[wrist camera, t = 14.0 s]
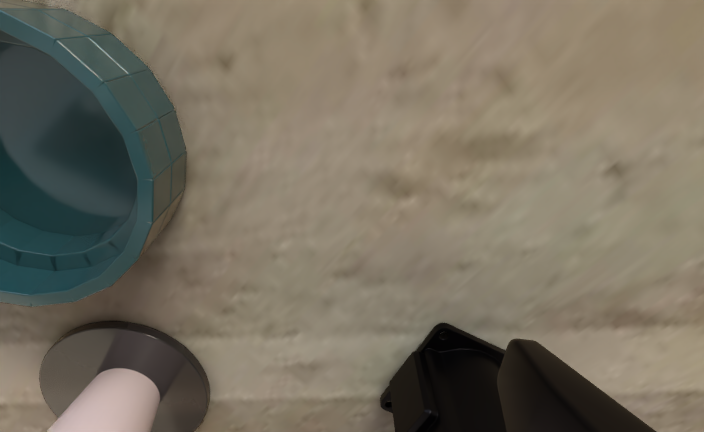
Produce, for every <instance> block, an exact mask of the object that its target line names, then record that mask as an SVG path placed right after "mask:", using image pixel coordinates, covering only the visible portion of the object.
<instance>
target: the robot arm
mask: <svg viewBox="0 0 704 432" xmlns="http://www.w3.org/2000/svg"><path fill="white" fill-rule="evenodd" d="M442 332H447V333H445V334H443V335H442V334H440V333H442ZM387 401H391V402H387ZM380 402H381V407H382V408H383V409H384V410H386V411H389V412H391V413H393V418H394V427H395V432H656V431H655V430H653V429H652V428H651V427H649V426H648V425H647V424H645V423H644V422H643V421H641V420H640V419H639V418H637V417H636V416H635V415H633V414H632V413H631V412H629V411H628V410H627V409H625V408H624V407H623V406H621V405H620V404H619V403H617V402H616V401H615V400H613V399H612V398H611V397H609V396H608V395H607V394H605V393H604V392H603V391H601V390H600V389H599V388H597V387H596V386H595V385H594V384H592V383H591V382H590V381H588V380H587V379H586V378H584V377H583V376H582V375H580V374H579V373H578V372H576V371H575V370H574V369H572V368H571V367H570V366H568V365H567V364H566V363H564V362H563V361H562V360H560V359H559V358H558V357H556V356H555V355H554V354H552V353H551V352H550V351H548V350H547V349H546V348H544V347H543V346H542V345H540V344H539V343H538V342H536V341H533V340H524V339H513V340H511V341H510V342H509V344H508V346H507V349H506V351H505V350H503V349H501V348H499V347H496V346H494V345H492V344H490V343H488V342H486V341H484V340H481V339H479V338H477V337H475V336H473V335H471V334H469V333H467V332H464V331H462V330H460V329H458V328H456V327H454V326H452V325H449V324H447V323H440V324H438V325H436V326H435V327H434V329H433V330H432V331H431V332H430V334H429V335H428V336H427V338H426V339H425V340H424V341H423V343H422V344H421V345H420V347H419V348H418V349H417V350H416V351H415V352H413V353H412V354H411V355H410V356H409V358H408V359H407V360H406V361H405V363H404V364H403V365H402V367H401V368H400V369H399V370H398V372H397V373H396V374H395V376H394V377H393V378H392V380H391V381H390V383H389V386H388V388H387V389H386V390H385V392H384V393H383V394H382V395H381V397H380Z"/></svg>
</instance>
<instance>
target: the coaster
mask: <svg viewBox="0 0 704 432" xmlns="http://www.w3.org/2000/svg"><path fill="white" fill-rule="evenodd" d="M114 368H124V369H130V370H134V371H136V372H139V373H141V374H143V375H145V376H146V377H148V378H149V379H150V380H151V381H152V382H153V383H154V384H155V385H156V387H157V388H158V391H159V394H160V402H159V405H158V409H157V412H156V415H155V418H154V421H153V425H152V428H151V431H150V432H193V431H194V430H195V429H196V428H197V427H198V426H199V425H200V423H201V422H202V420H203V418H204V416H205V414H206V411H207V408H208V404H209V400H210V388H209V382H208V379H207V376H206V374H205V371H204V369H203V367H202V366H201V364H200V363H199V361H198V360H197V359H196V358H195V356H194V355H193V354H192V353H191V352H190V351H189V350H188V349H187V348H186V347H185V346H183V345H182V344H180V343H179V342H178V341H176V340H175V339H173V338H171V337H170V336H168V335H166V334H164V333H162V332H160V331H158V330H155V329H153V328H150V327H147V326H143V325H139V324H135V323H129V322H121V321H105V322H96V323H91V324H87V325H84V326H81V327H78V328H76V329H74V330H72V331H70V332H68V333H67V334H65V335H64V336H62V337H61V338H60V339H59V340H58V341H57V342H56V343H55V344H54V345H53V346H52V347H51V348H50V350H49V351H48V352H47V354H46V355H45V357H44V359H43V361H42V364H41V368H40V376H39V381H40V388H41V391H42V394H43V396H44V399H45V401H46V403H47V404H48V406H49V407H50V409H51V410H52V411H53V413H54V414H55V415H56V416H57V417H58V418H59V417H60V416H61V415H62V414H63V413H64V411H65V410H66V409H67V408H68V407H69V406H70V405H71V404H72V403H73V401H74V400H75V399H76V398H77V397H78V396H79V395H80V394H81V393H82V391H83V390H84V389H85V388H86V387H87V386H88V385H89V384H90V383H91V382H92V380H93V379H94V378H95V377H96V376H97V375H98V374H100V373H101V372H103V371H106V370H109V369H114Z"/></svg>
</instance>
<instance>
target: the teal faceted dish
mask: <svg viewBox="0 0 704 432" xmlns="http://www.w3.org/2000/svg"><path fill="white" fill-rule="evenodd" d="M185 150H186V147H185V144H184V140H183V137H182V133H181V130H180V126H179V123H178V119H177V116H176V112H175V110H174V107H173V105H172V104H171V102H170V101H169V99H168V97H167V96H166V94H165V93H164V91H163V89H162V88H161V86H160V85H159V83H158V81H157V80H156V78H155V77H154V75H153V73H152V72H151V70H150V69H149V68H148V67H147V66H146V65H145V64H144V63H143V62H142V61H141V60H140V59H139V58H138V57H136V56H135V55H134V54H133V53H132V52H131V51H130V50H129V49H128V48H127V47H126V46H125V45H124V44H123V43H121V42H120V41H119V40H118V39H117V38H116V37H115V36H114V35H112V34H111V33H110V32H108V31H106V30H104V29H102V28H100V27H98V26H96V25H95V24H93V23H91V22H89V21H87V20H85V19H83V18H81V17H79V16H78V15H76V14H74V13H72V12H70V11H68V10H65V9H63V8H58V7H53V6H48V5H43V4H38V3H33V2H28V1H24V0H0V302H1V303H8V304H15V305H22V306H29V307H32V306H33V307H37V306H46V305H55V304H64V303H73V302H77V301H79V300H81V299H84V298H86V297H88V296H90V295H93V294H95V293H97V292H99V291H102V290H104V289H106V288H108V287H110V286H112V285H113V284H114V283H115V282H116V281H117V280H118V279H119V278H120V277H121V276H122V275H123V274H124V273H125V272H126V271H127V270H128V269H129V268H130V267H131V266H132V265H133V264H134V263H135V262H136V261H137V260H138V259H139V258H140V257H141V256H142V254H143V253H144V252H145V251H146V250H147V248H148V247H149V246H150V245H151V244H152V242H153V241H154V240H155V239H156V237H157V236H158V235H159V234H160V233H161V231H162V230H163V229H164V228H165V227H166V225H167V224H168V223H169V222H170V220H171V219H172V217H173V215H174V213H175V210H176V208H177V206H178V203H179V201H180V199H181V196H182V194H183V192H184V188H185V174H186V151H185Z"/></svg>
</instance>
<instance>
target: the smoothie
mask: <svg viewBox="0 0 704 432" xmlns="http://www.w3.org/2000/svg"><path fill="white" fill-rule="evenodd" d="M159 402H160V394H159V391H158V388H157V387H156V385H155V384H154V383H153V382H152V381H151V380H150V379H149V378H148V377H146V376H145V375H143V374H141V373H139V372H136V371H134V370H130V369H124V368H114V369H109V370H106V371H103V372H101V373H100V374H98V375H97V376H96V377H95V378H94V379H93V380H92V382H91V383H90V384H89V385H88V386H87V387H86V388H85V389H84V390H83V391H82V393H81V394H80V395H79V396H78V397H77V398H76V399H75V400H74V401H73V403H72V404H71V405H70V406H69V407H68V408H67V409H66V410H65V411H64V413H63V414H62V415H61V416H60V417H59V418H58V419H57V420H56V421H55V422H54V424H53V425H52V426H51V427H50V428H49V429H48V430H47V431H46V432H150V431H151V428H152V425H153V421H154V418H155V415H156V412H157V409H158V405H159Z"/></svg>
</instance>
